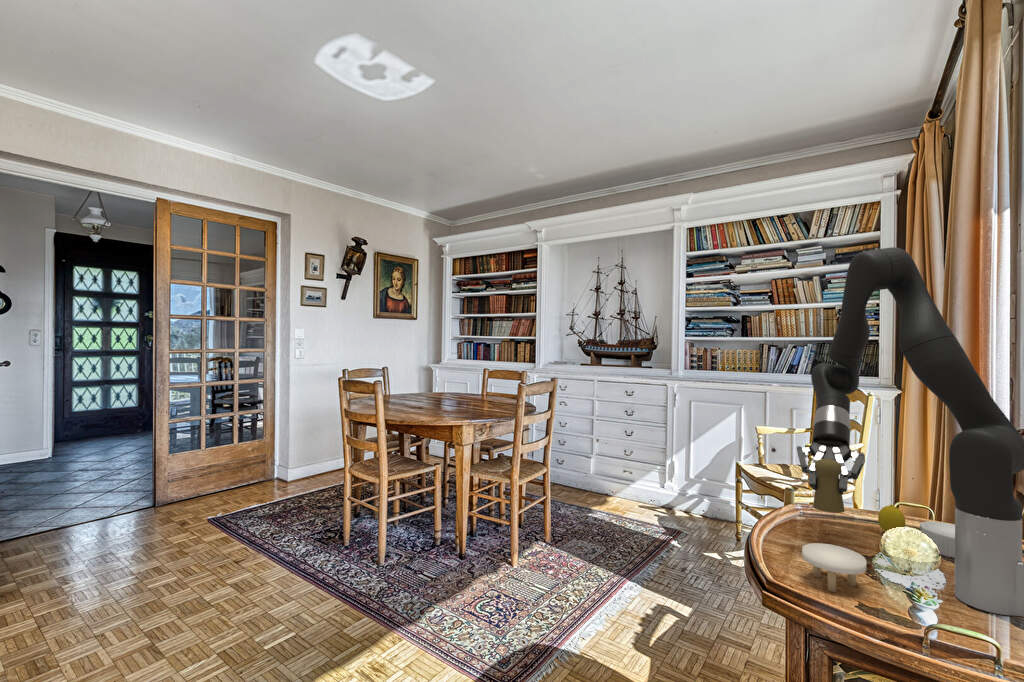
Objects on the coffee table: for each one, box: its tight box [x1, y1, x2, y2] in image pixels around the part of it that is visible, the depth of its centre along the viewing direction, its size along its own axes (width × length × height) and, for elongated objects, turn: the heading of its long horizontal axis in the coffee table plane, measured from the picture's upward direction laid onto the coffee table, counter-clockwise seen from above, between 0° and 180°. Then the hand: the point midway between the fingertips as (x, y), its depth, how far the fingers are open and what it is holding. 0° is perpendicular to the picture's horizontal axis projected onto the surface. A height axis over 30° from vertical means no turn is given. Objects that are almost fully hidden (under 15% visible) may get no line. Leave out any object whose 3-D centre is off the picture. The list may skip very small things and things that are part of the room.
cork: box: [812, 459, 845, 514], centre depth 112 cm, size 6×6×11 cm
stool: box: [801, 542, 867, 593], centre depth 101 cm, size 11×11×6 cm
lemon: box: [877, 504, 907, 532], centre depth 126 cm, size 6×6×8 cm
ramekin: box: [919, 520, 955, 559], centre depth 118 cm, size 11×11×5 cm
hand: (827, 489), depth 111 cm, fingers closed on cork, 4 cm apart
